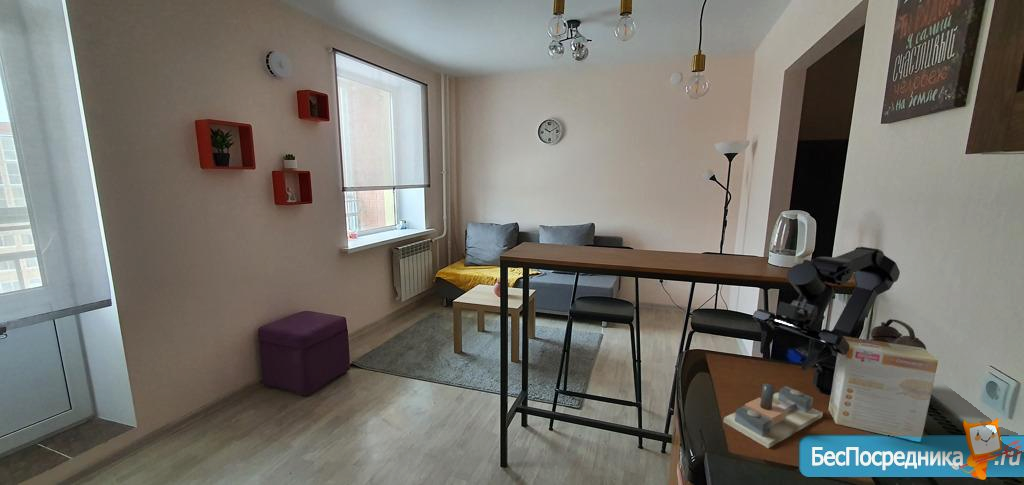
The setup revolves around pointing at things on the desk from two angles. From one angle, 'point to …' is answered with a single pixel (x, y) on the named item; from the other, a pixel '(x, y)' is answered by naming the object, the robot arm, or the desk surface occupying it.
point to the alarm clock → (895, 335)
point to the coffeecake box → (882, 387)
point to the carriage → (767, 405)
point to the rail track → (768, 435)
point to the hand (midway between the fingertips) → (781, 361)
